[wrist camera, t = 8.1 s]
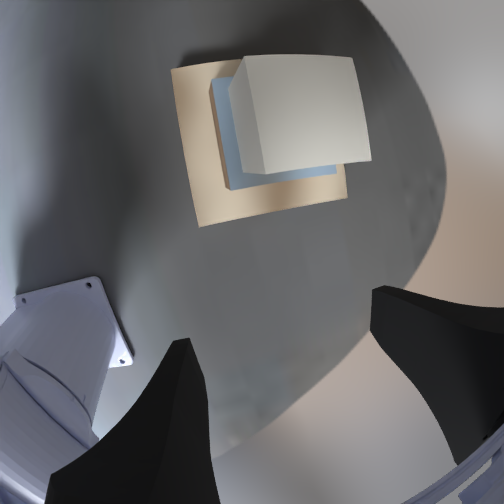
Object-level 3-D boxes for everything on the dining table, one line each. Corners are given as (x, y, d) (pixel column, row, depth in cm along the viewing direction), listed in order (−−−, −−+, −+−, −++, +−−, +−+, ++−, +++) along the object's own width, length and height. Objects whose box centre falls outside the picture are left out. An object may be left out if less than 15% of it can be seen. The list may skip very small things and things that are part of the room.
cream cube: (243, 172, 14) (265, 174, 9) (227, 88, 12) (244, 56, 8) (323, 160, 14) (371, 160, 10) (309, 83, 13) (352, 57, 9)
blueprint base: (198, 221, 18) (200, 237, 14) (172, 79, 15) (167, 53, 11) (333, 194, 20) (368, 203, 15) (312, 66, 16) (342, 45, 12)
